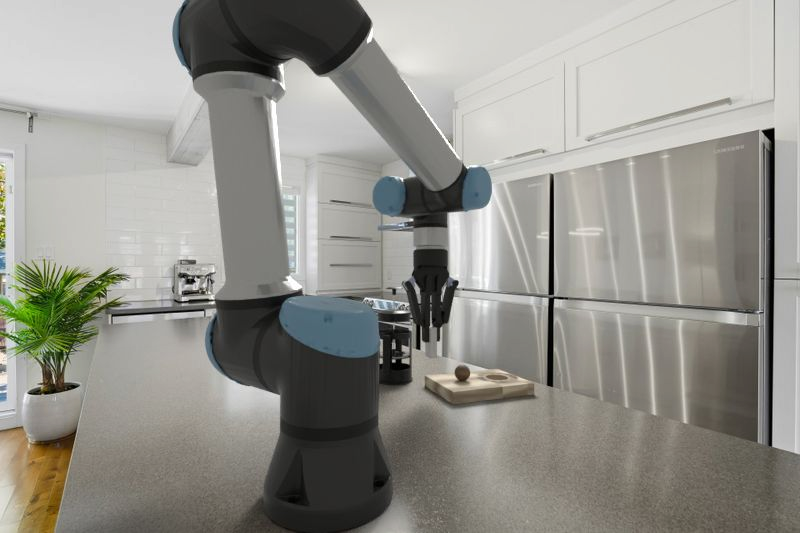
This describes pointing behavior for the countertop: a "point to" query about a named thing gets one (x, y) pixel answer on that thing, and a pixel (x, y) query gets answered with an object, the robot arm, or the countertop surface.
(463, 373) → the ball
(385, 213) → the robot arm
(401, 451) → the countertop surface
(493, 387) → the cutting board
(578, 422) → the countertop surface
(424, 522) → the countertop surface
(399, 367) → the french press
